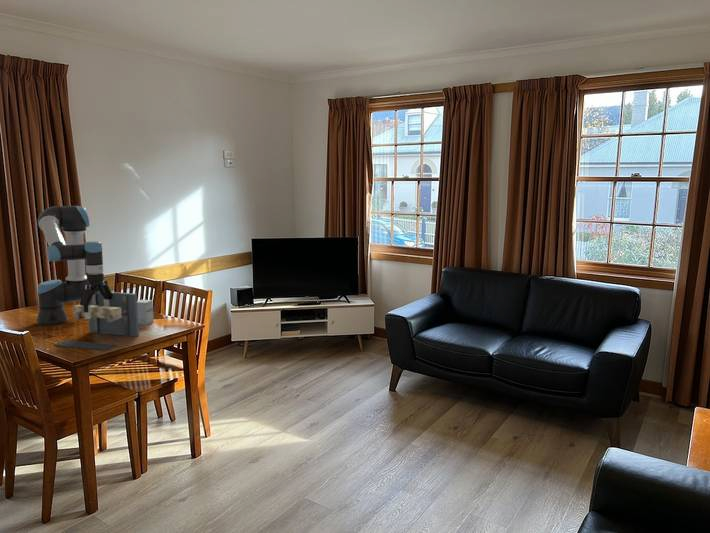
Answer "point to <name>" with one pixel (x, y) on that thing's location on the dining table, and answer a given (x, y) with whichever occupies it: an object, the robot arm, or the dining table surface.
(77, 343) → the rubber mat
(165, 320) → the dining table surface
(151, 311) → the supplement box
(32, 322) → the dining table surface
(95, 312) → the birch rail
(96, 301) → the hook standards
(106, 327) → the wall board
